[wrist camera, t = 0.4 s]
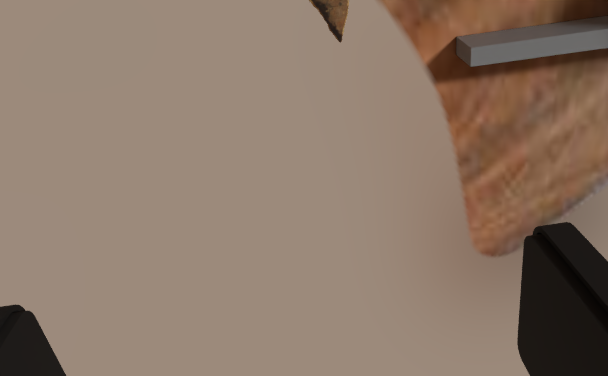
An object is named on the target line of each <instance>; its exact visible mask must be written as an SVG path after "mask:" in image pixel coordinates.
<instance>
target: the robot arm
mask: <svg viewBox="0 0 608 376" xmlns="http://www.w3.org/2000/svg"><path fill="white" fill-rule="evenodd" d="M518 350H519V354H520V357H521V359H522V361H523V363H524V365H525V367H526V369H527V371H528V372H529V374H530V376H608V261H607V260H606V259H605V258H604V257H603V256H602V255H601V254H600V253H599V252H598V251H597V250H596V249H595V248H594V247H593V246H592V244H591V243H590V242H589V241H588V240H587V239H586V238H585V237H584V236H583V235H582V234H581V233H580V232H579V231H578V230H577V229H576V227H574V225H572V224H571V223H568V222H565V223H558V224H551V225H545V226H538V227H536V228H535V229H534V231H533V235H531V236H527V237H526V238H525V240H524V250H523V265H522V280H521V296H520V311H519V326H518ZM0 376H66V374H65V373H64V371H63V369H62V367H61V365H60V363H59V361H58V359H57V357H56V356H55V354H54V352H53V350H52V348H51V346H50V344H49V342H48V340H47V338H46V337H45V335H44V333H43V331H42V329H41V327H40V326H39V323H38V321H37V320H36V318H35V316H34V314H33V313H32V312H30V311H25V309H24V308H23V307H21V306H20V305H10V306H3V307H0Z"/></svg>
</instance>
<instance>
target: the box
mask: <svg viewBox="0 0 608 376" xmlns="http://www.w3.org/2000/svg"><path fill="white" fill-rule="evenodd" d="M603 48H608V16H601V17H594V18H587V19H580V20H573V21H565V22H558V23H551V24H544V25H537V26H530V27H523V28H516V29H508V30H501V31H494V32H487V33H480V34H473V35H466V36H459V37H456V55H457V56H458V57H460V58H461V59H462V60H463V61H464V62H466V63H467V64H468V65H469V66H470V67H473V66H481V65H488V64H495V63H502V62H509V61H517V60H524V59H531V58H538V57H545V56H553V55H560V54H567V53H574V52H581V51H589V50H596V49H603Z"/></svg>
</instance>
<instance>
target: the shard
mask: <svg viewBox="0 0 608 376" xmlns="http://www.w3.org/2000/svg"><path fill="white" fill-rule="evenodd" d="M309 1H310V2H311V3H312V4H313V6H314V7H315V8H317V9H318V10H319V12H320V14H321V15H322V16H323V18H324V20H325V21H326V22H327V24H328V27H329V29H330V31H331V32H332V33H333V35H334V36H335V37H336V39H337V40H338V41H339V42H341V41H342V36H343V32H344V26H345V22H346V18H347V14H348V5H349V0H309Z"/></svg>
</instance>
